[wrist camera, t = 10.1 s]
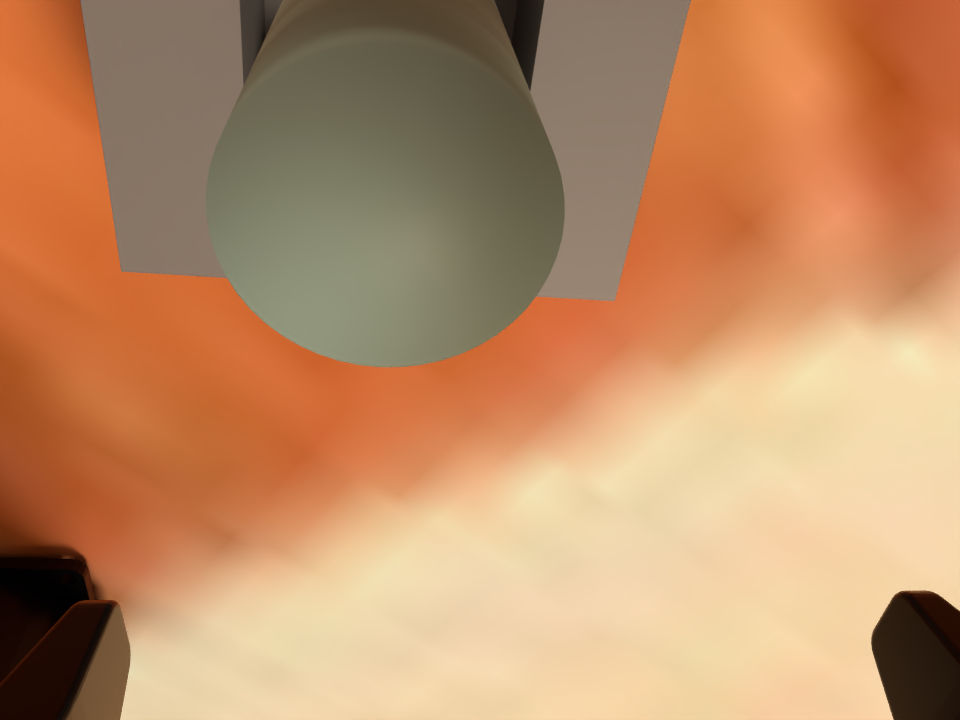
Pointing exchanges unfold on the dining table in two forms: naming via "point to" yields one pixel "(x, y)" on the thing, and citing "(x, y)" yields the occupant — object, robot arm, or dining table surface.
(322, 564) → the dining table surface
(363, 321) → the peg
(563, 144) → the socket block
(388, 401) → the dining table surface
